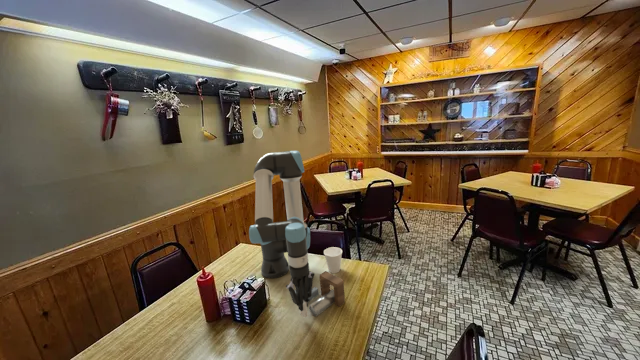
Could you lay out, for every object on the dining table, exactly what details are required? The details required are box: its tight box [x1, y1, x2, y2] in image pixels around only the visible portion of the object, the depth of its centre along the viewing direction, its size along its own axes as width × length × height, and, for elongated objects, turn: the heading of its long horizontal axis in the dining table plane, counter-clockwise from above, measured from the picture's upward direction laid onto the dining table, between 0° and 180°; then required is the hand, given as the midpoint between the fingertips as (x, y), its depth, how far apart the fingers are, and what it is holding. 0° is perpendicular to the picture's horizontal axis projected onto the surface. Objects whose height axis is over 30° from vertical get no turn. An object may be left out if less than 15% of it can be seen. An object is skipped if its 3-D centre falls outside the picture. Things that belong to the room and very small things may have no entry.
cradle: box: [294, 286, 320, 302], centre depth 117 cm, size 8×10×3 cm
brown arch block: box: [319, 270, 346, 308], centre depth 113 cm, size 11×4×11 cm, turn 44°
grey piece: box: [308, 288, 335, 318], centre depth 109 cm, size 13×5×5 cm, turn 134°
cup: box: [323, 246, 343, 274], centre depth 135 cm, size 10×10×11 cm
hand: (304, 315), depth 103 cm, fingers closed
